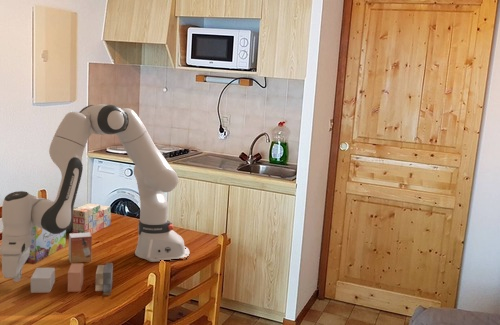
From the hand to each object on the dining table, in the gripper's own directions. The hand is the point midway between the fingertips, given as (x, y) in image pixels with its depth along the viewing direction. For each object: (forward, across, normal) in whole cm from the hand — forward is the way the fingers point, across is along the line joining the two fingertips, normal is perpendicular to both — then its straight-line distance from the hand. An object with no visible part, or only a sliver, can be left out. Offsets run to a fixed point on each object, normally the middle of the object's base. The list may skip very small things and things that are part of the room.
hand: (17, 280), depth 173 cm
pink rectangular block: (+3, 0, +19) cm, 19 cm away
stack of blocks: (+4, -65, +17) cm, 67 cm away
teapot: (+4, -60, +5) cm, 60 cm away
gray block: (+2, 0, +8) cm, 9 cm away
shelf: (+4, 0, +18) cm, 18 cm away
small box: (+4, -27, +17) cm, 32 cm away
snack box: (+4, -34, +3) cm, 34 cm away
